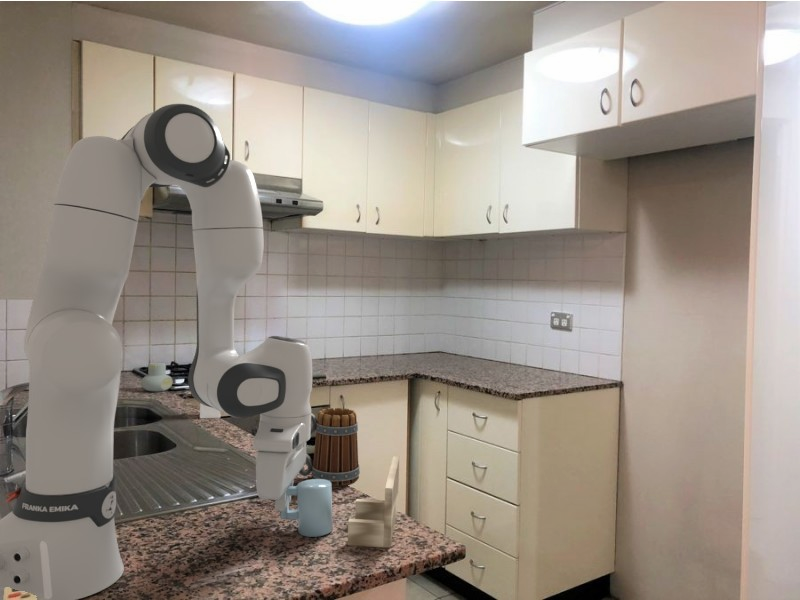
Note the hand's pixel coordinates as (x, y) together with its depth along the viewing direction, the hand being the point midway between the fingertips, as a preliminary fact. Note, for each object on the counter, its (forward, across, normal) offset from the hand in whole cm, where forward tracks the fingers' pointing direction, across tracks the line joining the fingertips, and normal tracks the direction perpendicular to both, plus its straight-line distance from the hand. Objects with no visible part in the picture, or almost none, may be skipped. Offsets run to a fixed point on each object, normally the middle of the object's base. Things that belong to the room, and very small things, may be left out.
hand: (283, 506), depth 108 cm
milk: (+4, -78, -43) cm, 89 cm away
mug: (+4, -27, +2) cm, 27 cm away
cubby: (+4, -4, +16) cm, 17 cm away
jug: (+4, 0, +4) cm, 6 cm away
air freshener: (+4, -111, -76) cm, 135 cm away
